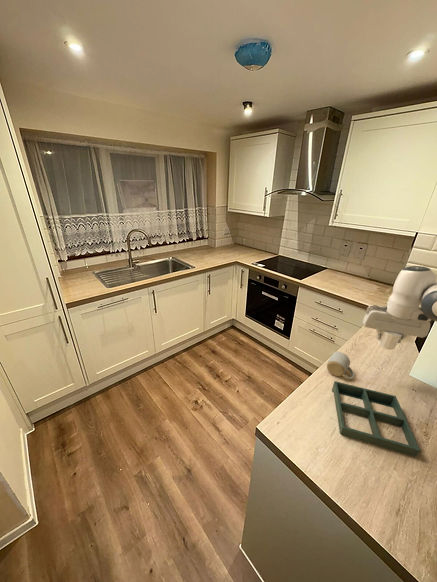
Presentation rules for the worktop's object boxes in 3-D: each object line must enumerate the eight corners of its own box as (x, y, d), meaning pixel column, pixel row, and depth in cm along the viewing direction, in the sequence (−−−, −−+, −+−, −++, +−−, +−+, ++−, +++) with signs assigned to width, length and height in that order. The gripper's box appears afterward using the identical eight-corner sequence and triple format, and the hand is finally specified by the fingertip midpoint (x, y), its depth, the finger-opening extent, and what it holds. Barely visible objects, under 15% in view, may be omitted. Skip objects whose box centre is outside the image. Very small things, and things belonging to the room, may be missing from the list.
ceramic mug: (323, 371, 101) (328, 357, 97) (329, 362, 106) (333, 348, 103) (350, 384, 95) (356, 370, 91) (355, 373, 100) (360, 359, 97)
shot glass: (379, 337, 96) (384, 323, 93) (398, 346, 92) (405, 331, 89) (373, 344, 92) (378, 329, 89) (393, 353, 87) (399, 337, 85)
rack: (391, 404, 86) (395, 395, 84) (414, 460, 68) (420, 450, 66) (331, 389, 92) (334, 380, 90) (338, 437, 74) (342, 427, 72)
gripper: (370, 307, 85) (359, 339, 91) (438, 318, 80) (422, 351, 85) (366, 300, 91) (356, 330, 97) (429, 310, 85) (415, 341, 91)
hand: (388, 340), depth 91 cm, fingers closed on shot glass, 5 cm apart
